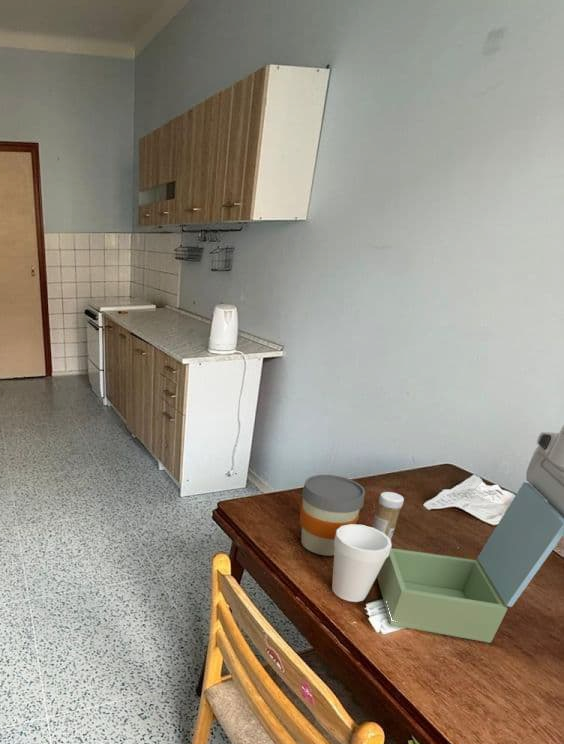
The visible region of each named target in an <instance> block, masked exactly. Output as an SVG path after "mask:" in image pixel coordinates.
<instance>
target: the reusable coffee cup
mask: <svg viewBox="0 0 564 744" xmlns="http://www.w3.org/2000/svg"><path fill="white" fill-rule="evenodd" d="M365 496H366V489H365V488H364V486H362V485H361V484H360V483H358V482H357V481H355V480H352V479H350V478H348V477H344V476H341V475H340V476H339V475H334V474H316V475H312V476H310V477H308V478H307V479H306V480H305V482H304V484H303V488H302V492H301V497H302V501H301V502H300V513H299V514H300V515H299V518H300V519H299V524H300V526H301V535H300V542H301V545H302V547H304V548H305V549H306V550H308V551H309V552H312V553H313V554H317V555H321V556H328V557H329V556H330V557H331V556H334V553H335V546H334V539H335V535H336V531H337V529H339V528H340V527H341V526H344V525H349V524H357V523H358V520H359V518H360V510H361V509H362V508H363V507H364V504H365Z"/></svg>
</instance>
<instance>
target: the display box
mask: <svg viewBox="0 0 564 744" xmlns="http://www.w3.org/2000/svg"><path fill="white" fill-rule="evenodd" d="M376 579H377V582H378V583H377V584H378V585H379V589H380V593H381V597H382V600H383V604H384V607H385V611H386V615H387V618H388V621H389V625H390V626H395V627H401V628H405V629H406V628H407V629H411V630H418V631H421V632H422V631H423V632H429V633H433V634H434V633H435V634H438V635H446V636H450V637H455V638H461V639H466V640H472V641H478V642H482V643H483V642H484V643H489V644H491V643H492V642H493V640H494V638H495V636H496V633H497V632H498V629H499V628H500V625H501V623H502V622H503V619H504V618H505V615H506V613H507V611H508V606H506V605H505V603H504V601H503V600H502V598H501V596H500V595H499V593H498V591H497V590H496V588H495V586H494V585H493V583H492V581H491V580H490V578H489V576H488V575H487V573H486V571H485V570H484V568H483V567H482V565H481V563H480V562H479V560H478V559H471V558H465V557H464V558H463V557H456V556H449V555H442V554H437V553H436V554H435V553H430V552H421V551H415V550H409V549H407V550H406V549H401V548H400V549H399V548H393V547H391V550H390V553H389V556H388V557H387V558H386V559H385V561H384V563H383V565H382V567H381V569H380V571H379V573H378V575H377V577H376ZM386 601H387V603H386ZM387 605H388V607H387ZM388 608H389V610H388ZM389 611H390V614H391V617H392V620H394V621H391V617H390V614H389ZM395 621H396V622H395Z"/></svg>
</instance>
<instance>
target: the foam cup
mask: <svg viewBox="0 0 564 744" xmlns="http://www.w3.org/2000/svg"><path fill="white" fill-rule="evenodd" d="M334 546H335V553H334V555H333V567H332V579H331V581H332V582H331V590H332V592H333V593H334V595H335V596H337V598H340V599H341V600H344V601H347V602H350V603H359V602H362V601H364V600H365V599H366V598H367V596H368V594H369V593H370V591H371V588H372V587H373V584H374V583H375V581H376V579H377V578H378V575H379V572H380V569H381V567H382V565H383V563H384V561H385V559H386V558H387V557H388V556H389V553H390V550H391V548H393V547H392V538H391V539H390V538H389V537H388V536H387V535H386V534H385V533H383V532H381V531H379V530H377V529H375V528H372V526H369V525H368V526H367V525H364V524H357V523H356V524H349V525H344V526H341V527H340V528H339V529H337V531H336V535H335V539H334Z"/></svg>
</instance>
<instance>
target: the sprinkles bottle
mask: <svg viewBox="0 0 564 744" xmlns="http://www.w3.org/2000/svg"><path fill="white" fill-rule="evenodd" d="M404 502H405V498H404V496H402V495H401V494H399V493H397V492H393V491H383V492H381V493H380V495H379V498H378V504H377V507H376V512H375V514H374V518H373V521H372V524H371V527H372V528H375V529H377V530H379V531H381V532H383V533H385V534H386V535H387V536H388V537H389V538H390V539H391V540H392V538H393V535H394V532H395V529H396V525H397V522H398V518H399V514H400V511H401V509H402V508H403V505H404Z"/></svg>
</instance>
